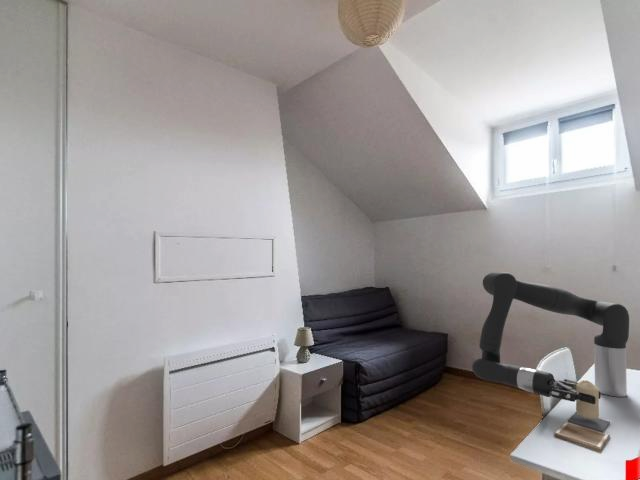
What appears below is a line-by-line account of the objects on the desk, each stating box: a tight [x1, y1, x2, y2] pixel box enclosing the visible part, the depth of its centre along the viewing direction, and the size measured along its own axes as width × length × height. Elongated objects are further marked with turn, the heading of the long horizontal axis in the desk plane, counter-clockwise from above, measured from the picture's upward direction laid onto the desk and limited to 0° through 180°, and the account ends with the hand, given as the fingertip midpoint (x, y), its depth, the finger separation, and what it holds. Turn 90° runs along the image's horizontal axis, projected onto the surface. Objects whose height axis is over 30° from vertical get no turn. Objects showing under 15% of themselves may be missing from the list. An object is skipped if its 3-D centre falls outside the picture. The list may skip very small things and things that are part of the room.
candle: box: [575, 380, 600, 419], centre depth 109 cm, size 6×6×10 cm
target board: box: [553, 421, 611, 453], centre depth 100 cm, size 11×10×1 cm
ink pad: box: [567, 411, 611, 433], centre depth 109 cm, size 9×9×1 cm
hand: (597, 397), depth 107 cm, fingers closed on candle, 5 cm apart
